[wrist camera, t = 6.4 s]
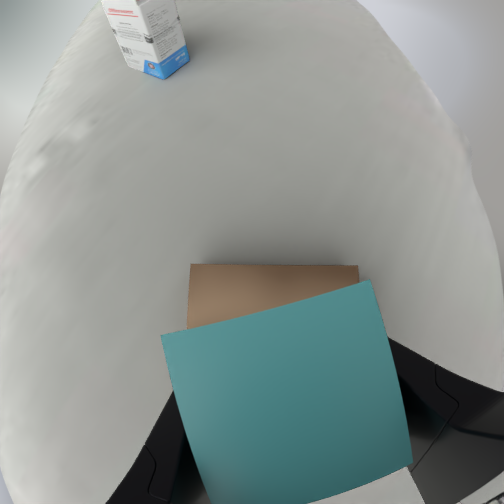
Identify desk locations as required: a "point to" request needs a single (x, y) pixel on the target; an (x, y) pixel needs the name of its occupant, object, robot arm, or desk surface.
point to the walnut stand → (257, 288)
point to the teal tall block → (291, 400)
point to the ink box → (148, 34)
